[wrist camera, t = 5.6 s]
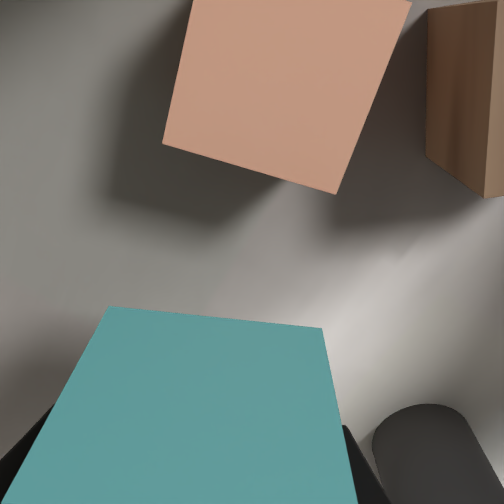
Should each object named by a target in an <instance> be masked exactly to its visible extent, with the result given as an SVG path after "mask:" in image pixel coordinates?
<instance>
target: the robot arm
mask: <svg viewBox="0 0 504 504" xmlns="http://www.w3.org/2000/svg"><path fill="white" fill-rule="evenodd" d="M54 405H55V404H54ZM54 405H53V406H52V407H51V408H50V409H49V410H48V411H47V412H46V413H45V414H44V415H43V416H42V417H41V419H40V420H39V421H38V422H37V423H36V424H35V425H34V426H33V427H32V428H31V429H30V430H29V431H28V432H27V433H26V434H25V435H24V437H23V438H22V439H21V440H20V441H19V442H18V443H17V444H16V445H15V446H14V447H13V448H12V449H11V450H10V451H9V452H8V453H7V454H6V455H5V456H4V457H3V458H2V459H1V460H0V504H1V502H2V500H3V498H4V496H5V495H6V493H7V491H8V489H9V487H10V486H11V484H12V482H13V480H14V478H15V476H16V475H17V473H18V471H19V469H20V467H21V465H22V464H23V462H24V460H25V458H26V456H27V455H28V453H29V451H30V449H31V447H32V445H33V444H34V442H35V440H36V438H37V436H38V434H39V433H40V431H41V429H42V427H43V425H44V423H45V422H46V420H47V418H48V416H49V414H50V413H51V411H52V409H53V407H54ZM342 429H343V434H344V438H345V443H346V448H347V453H348V458H349V463H350V468H351V472H352V477H353V482H354V487H355V492H356V497H357V501H358V504H392V502H391V500H390V499H389V497H388V496H387V494H386V493H385V491H384V489H383V488H382V486H381V484H380V483H379V481H378V479H377V478H376V476H375V474H374V473H373V471H372V469H371V468H370V466H369V464H368V463H367V461H366V459H365V457H364V456H363V454H362V452H361V450H360V449H359V447H358V445H357V443H356V441H355V439H354V438H353V436H352V434H351V432H350V430H349V429H348V428H347V426H346V425H342Z"/></svg>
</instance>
